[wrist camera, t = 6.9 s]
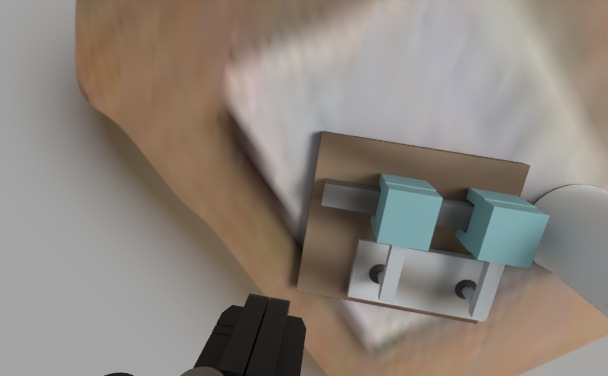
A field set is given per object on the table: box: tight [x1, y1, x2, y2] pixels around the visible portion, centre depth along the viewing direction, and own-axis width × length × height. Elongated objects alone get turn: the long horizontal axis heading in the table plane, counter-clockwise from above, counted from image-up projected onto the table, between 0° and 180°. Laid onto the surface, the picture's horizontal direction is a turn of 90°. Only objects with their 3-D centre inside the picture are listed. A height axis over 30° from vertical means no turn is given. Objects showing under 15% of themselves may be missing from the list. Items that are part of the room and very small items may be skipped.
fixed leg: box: [455, 188, 550, 320], centre depth 28 cm, size 10×4×5 cm, turn 172°
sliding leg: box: [370, 173, 443, 303], centre depth 29 cm, size 10×4×5 cm, turn 172°
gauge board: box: [296, 131, 530, 324], centre depth 31 cm, size 16×18×3 cm
